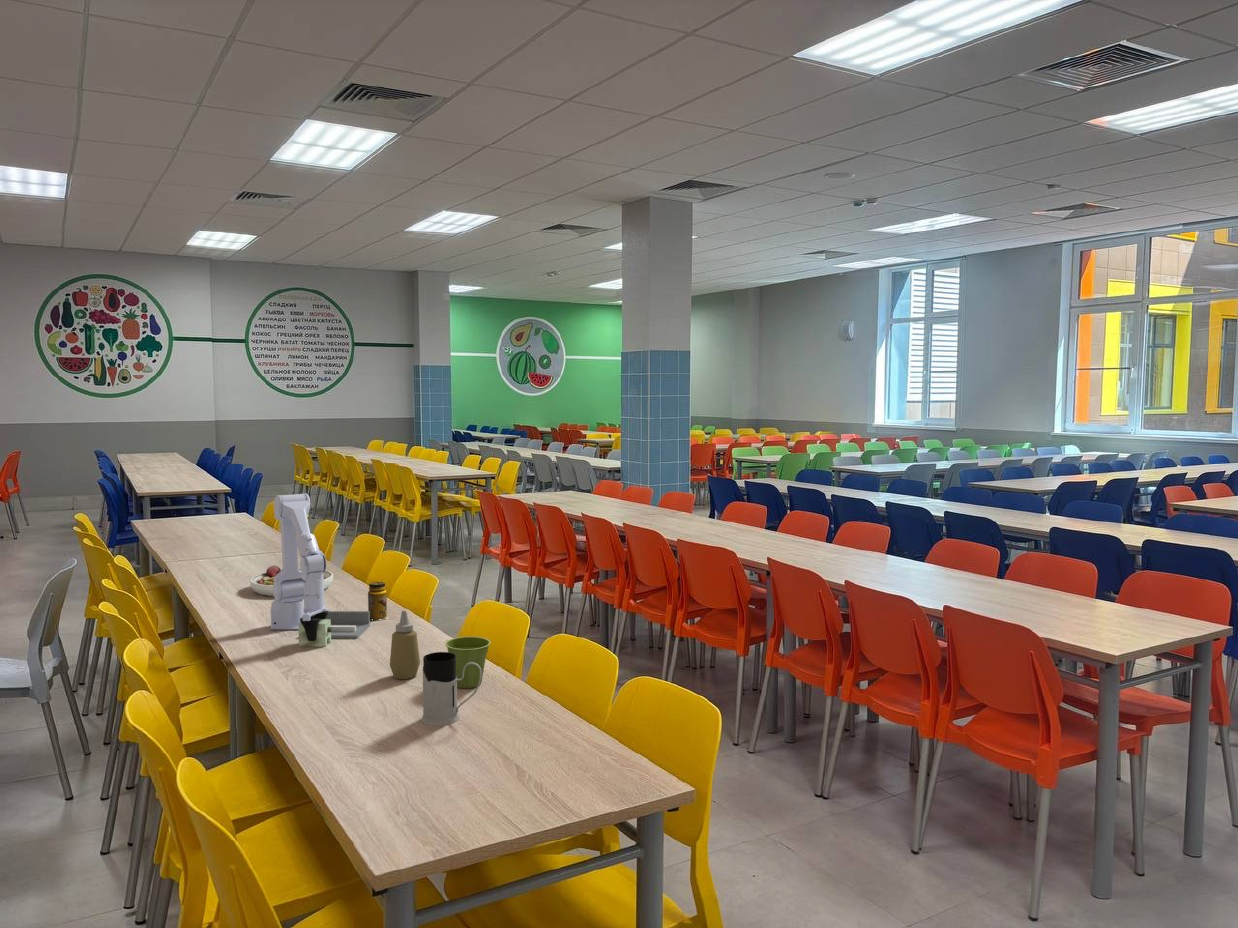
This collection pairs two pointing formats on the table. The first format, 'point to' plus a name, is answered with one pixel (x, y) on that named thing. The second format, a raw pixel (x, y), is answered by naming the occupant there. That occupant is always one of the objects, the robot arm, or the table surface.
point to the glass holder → (441, 689)
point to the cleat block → (322, 635)
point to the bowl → (266, 580)
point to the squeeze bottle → (404, 650)
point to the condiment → (377, 601)
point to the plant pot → (468, 658)
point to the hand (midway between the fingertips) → (315, 637)
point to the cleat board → (348, 623)
